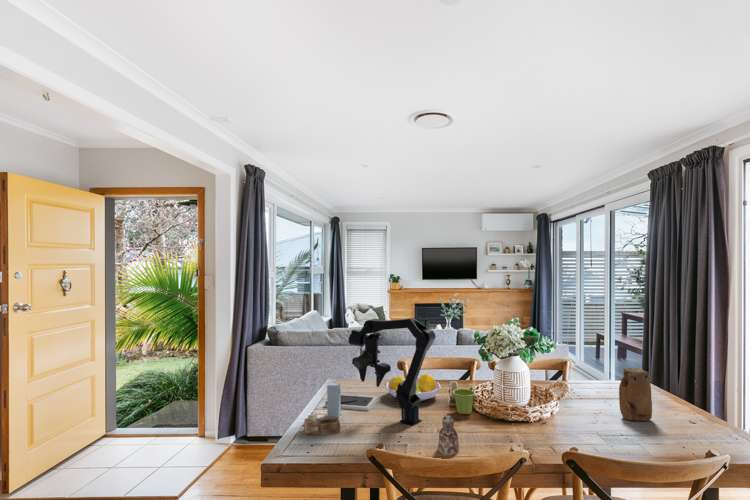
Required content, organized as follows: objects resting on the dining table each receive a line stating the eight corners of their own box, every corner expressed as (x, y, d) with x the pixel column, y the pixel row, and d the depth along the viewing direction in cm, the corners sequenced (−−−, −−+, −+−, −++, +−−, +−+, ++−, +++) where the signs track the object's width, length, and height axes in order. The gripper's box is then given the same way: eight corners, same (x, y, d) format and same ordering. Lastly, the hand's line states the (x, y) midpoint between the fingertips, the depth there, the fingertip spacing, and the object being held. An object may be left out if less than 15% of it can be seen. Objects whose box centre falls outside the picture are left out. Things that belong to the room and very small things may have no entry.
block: (641, 414, 173) (639, 366, 174) (655, 421, 165) (653, 371, 166) (617, 416, 172) (615, 367, 173) (630, 422, 164) (628, 372, 165)
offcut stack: (317, 425, 163) (316, 413, 163) (318, 431, 157) (318, 418, 157) (304, 427, 162) (304, 414, 162) (305, 432, 156) (305, 420, 156)
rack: (337, 426, 165) (337, 417, 165) (340, 432, 159) (339, 423, 159) (304, 429, 162) (304, 420, 162) (305, 435, 156) (305, 426, 156)
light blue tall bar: (340, 415, 177) (340, 383, 177) (338, 417, 174) (338, 385, 174) (329, 414, 178) (329, 383, 178) (327, 417, 175) (327, 385, 175)
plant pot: (466, 417, 172) (466, 396, 172) (449, 412, 179) (448, 392, 179) (479, 412, 178) (479, 392, 179) (462, 407, 185) (461, 387, 186)
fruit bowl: (394, 387, 217) (394, 365, 217) (445, 391, 208) (445, 369, 208) (376, 404, 190) (376, 379, 191) (434, 410, 181) (434, 384, 182)
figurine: (436, 453, 140) (435, 417, 141) (440, 444, 147) (439, 410, 147) (457, 456, 138) (456, 420, 138) (460, 447, 144) (459, 413, 145)
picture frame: (325, 408, 187) (368, 412, 182) (324, 402, 187) (368, 406, 182) (337, 398, 202) (377, 401, 197) (337, 392, 203) (377, 395, 197)
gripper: (343, 346, 179) (342, 382, 179) (373, 355, 166) (372, 393, 166) (361, 343, 187) (360, 377, 187) (392, 351, 174) (390, 388, 174)
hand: (370, 384), depth 178 cm, fingers open, 9 cm apart
